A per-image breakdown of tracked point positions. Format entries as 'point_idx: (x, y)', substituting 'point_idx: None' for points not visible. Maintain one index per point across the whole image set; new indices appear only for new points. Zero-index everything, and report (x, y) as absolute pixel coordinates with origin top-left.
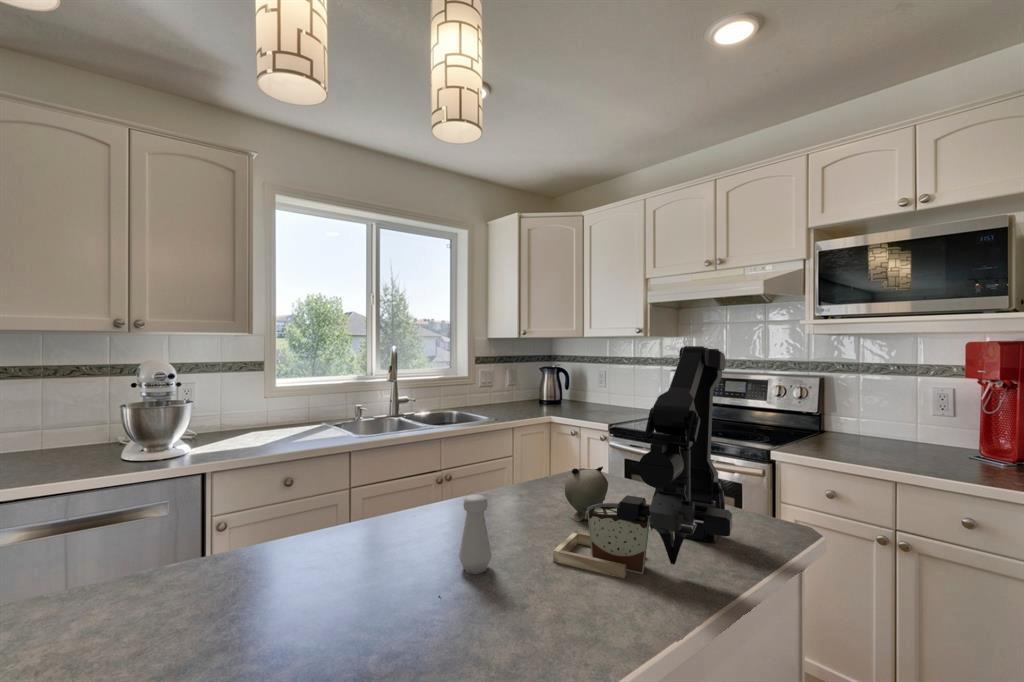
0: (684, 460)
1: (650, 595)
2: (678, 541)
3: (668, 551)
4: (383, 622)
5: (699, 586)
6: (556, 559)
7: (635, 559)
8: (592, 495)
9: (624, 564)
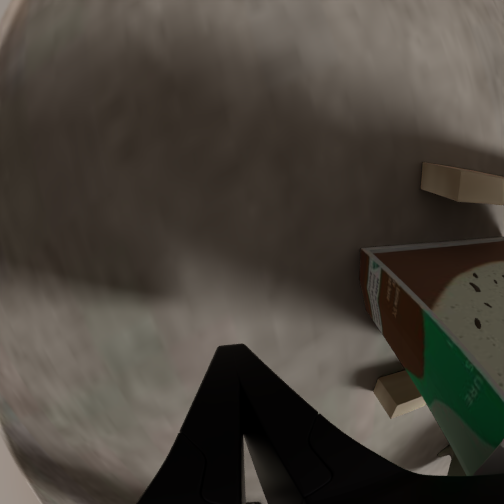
0: None
1: (283, 42)
2: (189, 485)
3: (273, 390)
4: None
5: (83, 275)
6: None
7: (430, 272)
8: None
9: (463, 201)
